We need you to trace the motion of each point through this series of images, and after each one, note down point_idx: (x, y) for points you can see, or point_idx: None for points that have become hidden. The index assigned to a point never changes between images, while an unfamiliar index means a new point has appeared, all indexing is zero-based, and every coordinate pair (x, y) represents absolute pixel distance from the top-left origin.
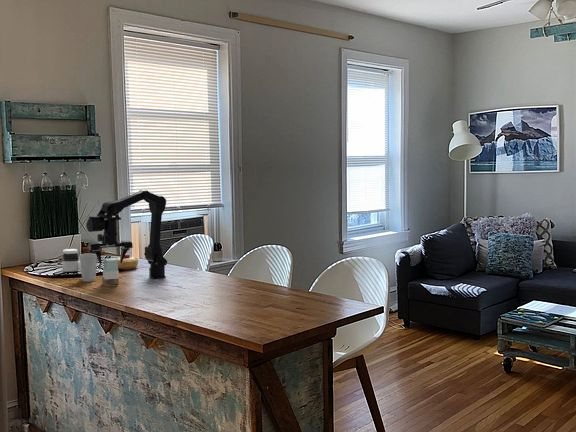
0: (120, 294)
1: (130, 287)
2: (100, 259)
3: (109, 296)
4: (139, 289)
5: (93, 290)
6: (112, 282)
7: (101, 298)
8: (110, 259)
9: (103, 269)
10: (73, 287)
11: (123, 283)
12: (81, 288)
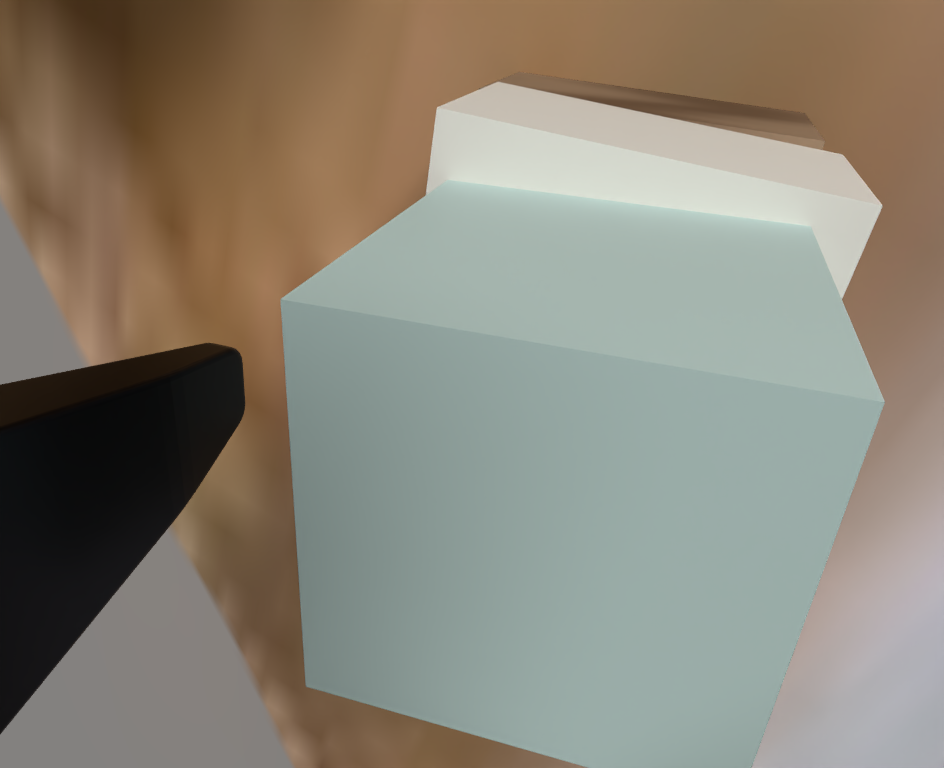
0: (513, 765)
1: (821, 589)
2: (83, 597)
3: (380, 750)
4: (857, 747)
5: (277, 428)
6: None
7: (290, 754)
8: (514, 585)
9: (446, 146)
10: (31, 75)
11: (914, 261)
12: (140, 217)
